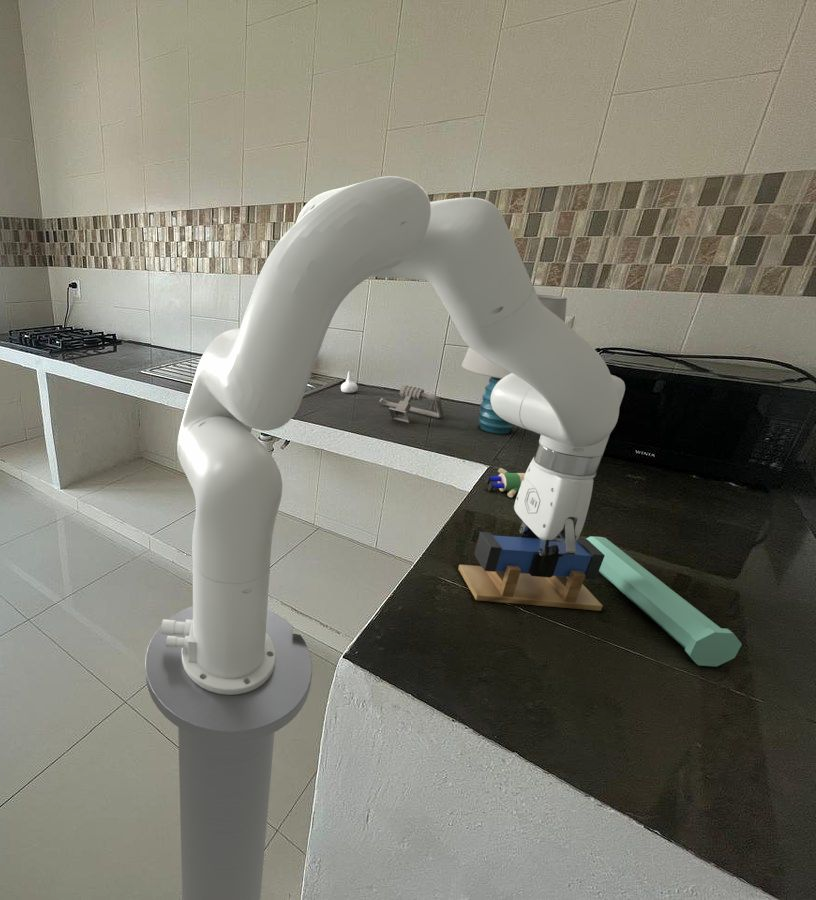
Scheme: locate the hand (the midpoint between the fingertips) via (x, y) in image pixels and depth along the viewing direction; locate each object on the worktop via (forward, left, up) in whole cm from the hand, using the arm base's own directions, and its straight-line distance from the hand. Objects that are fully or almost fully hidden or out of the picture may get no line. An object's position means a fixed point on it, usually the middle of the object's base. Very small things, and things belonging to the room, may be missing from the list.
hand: (532, 565), depth 75 cm
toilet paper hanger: (+1, +89, -5) cm, 89 cm away
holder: (0, 0, -5) cm, 5 cm away
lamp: (+27, +80, -5) cm, 85 cm away
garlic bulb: (-12, +117, -5) cm, 118 cm away
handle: (0, 0, 0) cm, 0 cm away
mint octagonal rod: (+16, -1, -5) cm, 17 cm away
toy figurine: (+14, +36, -5) cm, 39 cm away
